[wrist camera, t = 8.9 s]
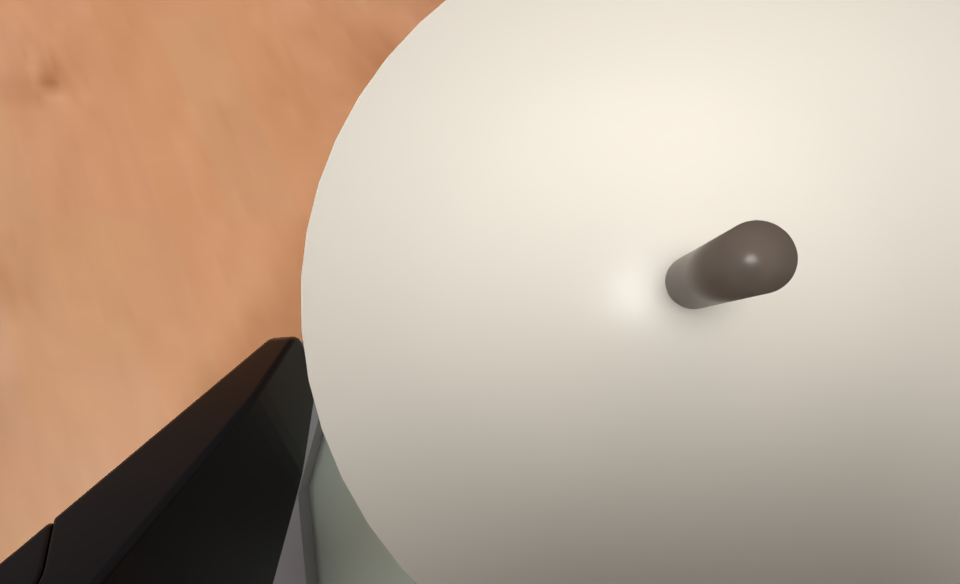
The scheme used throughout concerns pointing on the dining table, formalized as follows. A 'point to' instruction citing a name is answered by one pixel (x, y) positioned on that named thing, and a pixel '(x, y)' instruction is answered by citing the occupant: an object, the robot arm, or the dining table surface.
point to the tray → (331, 529)
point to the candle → (649, 293)
